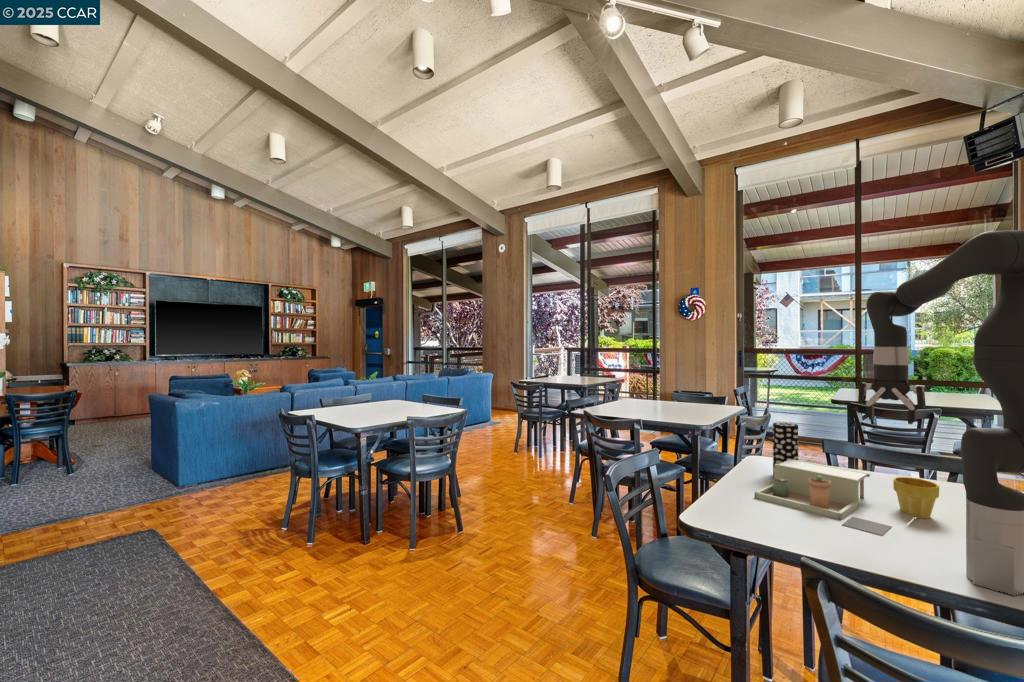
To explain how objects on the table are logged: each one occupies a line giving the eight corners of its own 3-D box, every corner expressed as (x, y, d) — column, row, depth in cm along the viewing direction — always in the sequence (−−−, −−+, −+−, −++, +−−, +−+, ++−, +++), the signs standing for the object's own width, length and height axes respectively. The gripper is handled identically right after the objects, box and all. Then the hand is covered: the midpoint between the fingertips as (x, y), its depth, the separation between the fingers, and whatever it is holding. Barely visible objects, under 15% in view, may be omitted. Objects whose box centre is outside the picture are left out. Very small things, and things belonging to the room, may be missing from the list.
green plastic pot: (785, 498, 150) (785, 482, 150) (771, 494, 153) (771, 479, 153) (790, 495, 152) (790, 479, 152) (776, 491, 156) (776, 476, 156)
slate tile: (882, 538, 121) (882, 535, 121) (841, 528, 128) (841, 524, 128) (891, 529, 126) (891, 526, 126) (852, 519, 134) (852, 516, 134)
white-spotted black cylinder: (794, 474, 178) (794, 422, 178) (801, 480, 170) (801, 426, 170) (770, 472, 181) (770, 422, 181) (776, 479, 173) (776, 425, 173)
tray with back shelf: (841, 522, 132) (840, 490, 132) (754, 499, 151) (754, 472, 151) (869, 500, 149) (869, 473, 149) (789, 483, 168) (788, 458, 168)
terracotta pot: (827, 511, 138) (826, 479, 138) (805, 506, 142) (805, 475, 142) (833, 507, 141) (833, 475, 141) (812, 502, 146) (812, 471, 146)
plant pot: (948, 522, 131) (948, 488, 131) (907, 520, 133) (906, 486, 133) (924, 509, 141) (924, 477, 141) (885, 507, 144) (885, 475, 143)
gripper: (855, 362, 131) (855, 419, 131) (921, 364, 119) (921, 427, 119) (863, 361, 135) (863, 417, 135) (927, 363, 124) (927, 423, 124)
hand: (890, 421), depth 127 cm, fingers open, 8 cm apart
